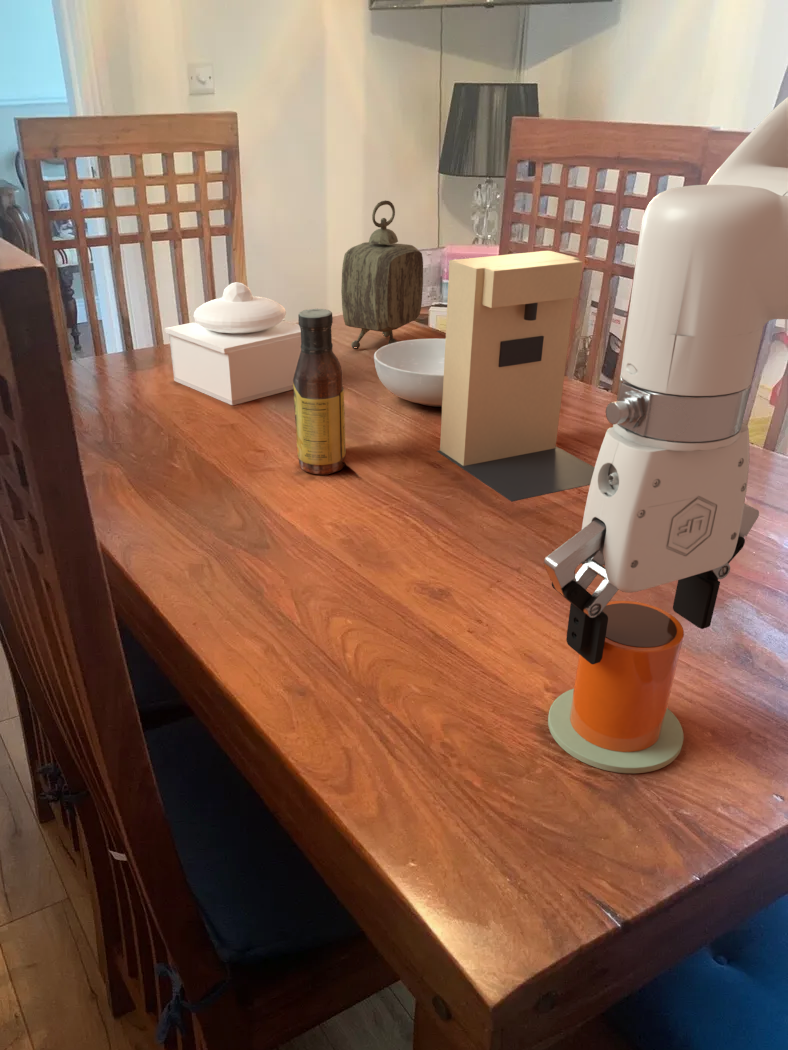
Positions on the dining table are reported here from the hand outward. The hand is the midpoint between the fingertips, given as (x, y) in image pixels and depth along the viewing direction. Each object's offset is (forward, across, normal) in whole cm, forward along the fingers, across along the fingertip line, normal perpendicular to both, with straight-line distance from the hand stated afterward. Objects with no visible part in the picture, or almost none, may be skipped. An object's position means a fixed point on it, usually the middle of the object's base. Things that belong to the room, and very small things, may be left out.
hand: (638, 635), depth 62 cm
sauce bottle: (+9, -1, +58) cm, 59 cm away
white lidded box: (+9, +2, +98) cm, 99 cm away
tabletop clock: (+9, +33, +108) cm, 113 cm away
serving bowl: (+9, +27, +76) cm, 81 cm away
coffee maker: (+9, +21, +45) cm, 50 cm away
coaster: (+8, -1, 0) cm, 9 cm away
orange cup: (+8, -1, 0) cm, 8 cm away
